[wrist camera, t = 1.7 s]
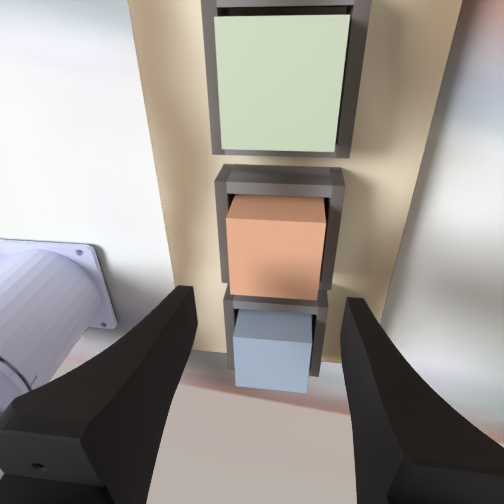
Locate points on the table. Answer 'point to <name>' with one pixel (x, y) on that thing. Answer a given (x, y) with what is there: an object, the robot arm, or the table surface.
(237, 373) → the slate key
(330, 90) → the sage key
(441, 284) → the table surface
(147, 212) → the table surface
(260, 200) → the terracotta key
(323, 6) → the keypad base
